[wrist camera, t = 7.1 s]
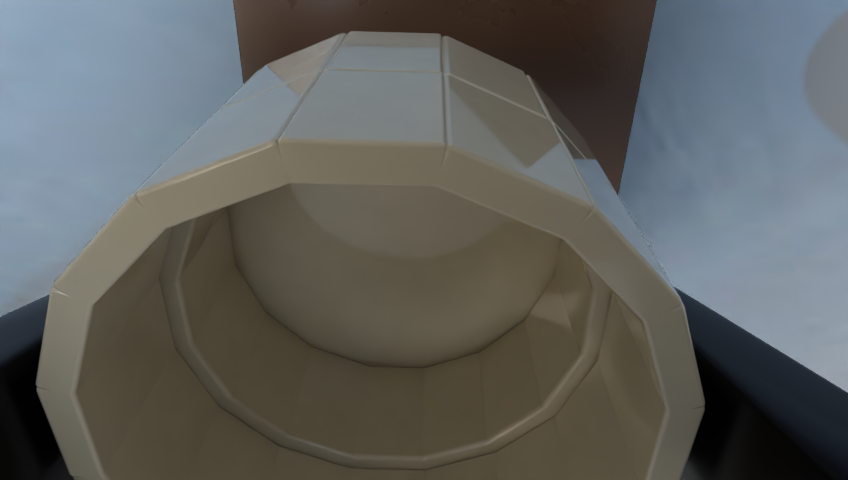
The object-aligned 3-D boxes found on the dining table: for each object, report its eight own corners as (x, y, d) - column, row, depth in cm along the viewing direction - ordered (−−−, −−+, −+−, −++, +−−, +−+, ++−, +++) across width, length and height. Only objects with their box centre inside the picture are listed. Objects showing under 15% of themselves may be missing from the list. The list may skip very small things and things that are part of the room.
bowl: (562, 373, 12) (630, 630, 8) (232, 364, 12) (123, 614, 8) (624, 29, 9) (796, 152, 5) (171, 17, 9) (-71, 129, 5)
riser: (573, 225, 22) (600, 287, 18) (294, 217, 22) (267, 278, 18) (625, -94, 17) (675, -92, 13) (264, -104, 17) (219, -105, 13)
